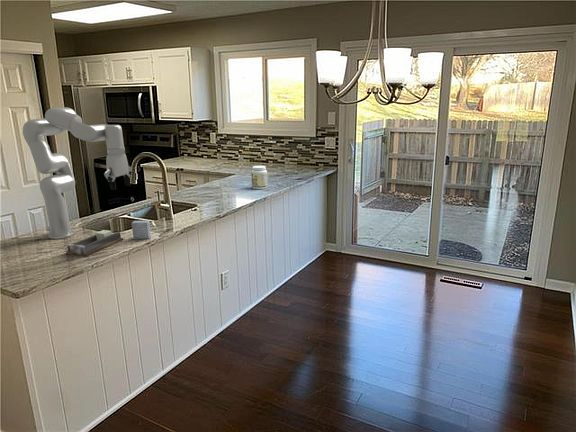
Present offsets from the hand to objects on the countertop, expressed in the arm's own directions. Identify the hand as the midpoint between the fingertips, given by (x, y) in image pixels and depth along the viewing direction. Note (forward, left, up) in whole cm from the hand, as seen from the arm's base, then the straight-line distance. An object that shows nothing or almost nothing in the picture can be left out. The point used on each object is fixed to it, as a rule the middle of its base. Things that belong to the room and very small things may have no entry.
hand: (120, 187), depth 200 cm
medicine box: (+2, +8, -28) cm, 29 cm away
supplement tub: (+11, +137, -28) cm, 140 cm away
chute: (-11, -10, -28) cm, 31 cm away
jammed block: (-11, -4, -27) cm, 29 cm away
